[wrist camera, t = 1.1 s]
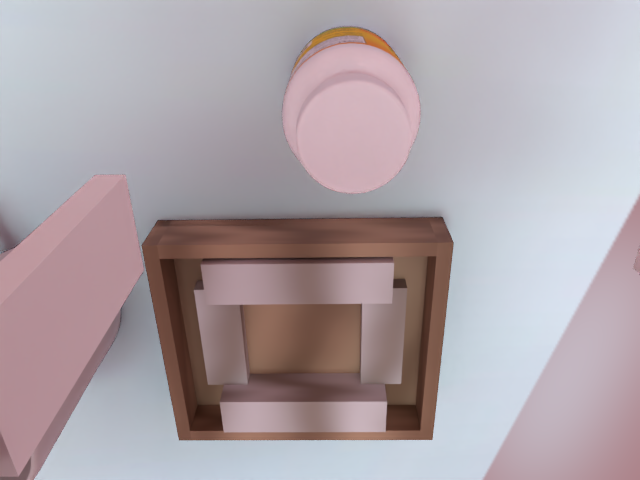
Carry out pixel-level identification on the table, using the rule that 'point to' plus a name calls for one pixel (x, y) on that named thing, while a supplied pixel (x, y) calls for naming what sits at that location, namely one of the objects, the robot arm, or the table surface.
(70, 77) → the table surface
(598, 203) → the table surface
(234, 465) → the table surface
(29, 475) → the mug
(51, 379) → the robot arm
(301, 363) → the walled box
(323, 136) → the supplement bottle
